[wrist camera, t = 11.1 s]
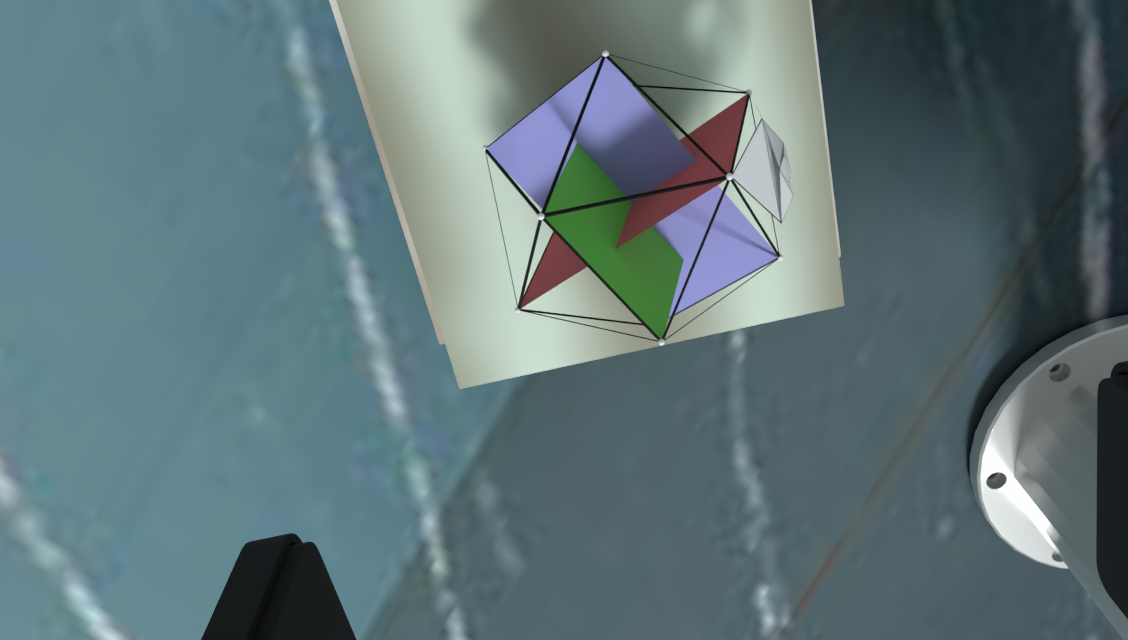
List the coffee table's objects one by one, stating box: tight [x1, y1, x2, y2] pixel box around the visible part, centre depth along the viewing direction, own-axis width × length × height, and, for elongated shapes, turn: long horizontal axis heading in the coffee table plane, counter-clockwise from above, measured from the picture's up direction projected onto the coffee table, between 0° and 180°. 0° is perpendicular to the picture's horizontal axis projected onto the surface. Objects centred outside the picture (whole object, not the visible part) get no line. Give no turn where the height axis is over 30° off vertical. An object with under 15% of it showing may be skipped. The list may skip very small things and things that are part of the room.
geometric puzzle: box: [482, 50, 793, 345], centre depth 24 cm, size 7×7×8 cm
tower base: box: [329, 0, 845, 389], centre depth 31 cm, size 16×16×9 cm
